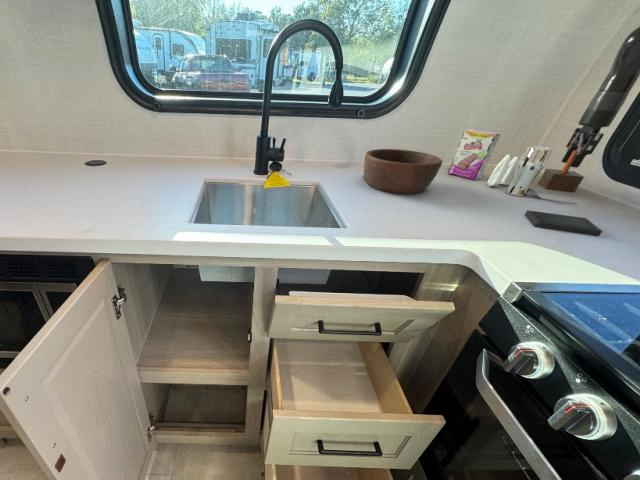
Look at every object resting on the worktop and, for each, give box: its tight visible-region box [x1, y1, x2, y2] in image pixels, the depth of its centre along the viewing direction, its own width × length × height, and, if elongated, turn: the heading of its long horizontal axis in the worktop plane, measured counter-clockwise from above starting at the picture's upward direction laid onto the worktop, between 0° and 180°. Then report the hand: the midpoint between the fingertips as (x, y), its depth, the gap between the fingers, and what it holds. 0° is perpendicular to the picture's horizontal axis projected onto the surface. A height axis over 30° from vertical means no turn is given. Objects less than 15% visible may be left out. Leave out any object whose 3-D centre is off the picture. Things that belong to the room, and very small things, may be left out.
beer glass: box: [505, 145, 554, 197], centre depth 107 cm, size 7×7×15 cm
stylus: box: [561, 150, 578, 173], centre depth 109 cm, size 2×2×14 cm
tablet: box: [524, 209, 603, 237], centre depth 88 cm, size 14×10×2 cm
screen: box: [534, 211, 594, 229], centre depth 88 cm, size 11×8×1 cm
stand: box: [537, 168, 585, 193], centre depth 111 cm, size 8×8×7 cm
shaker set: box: [487, 153, 519, 187], centre depth 116 cm, size 12×4×11 cm, turn 119°
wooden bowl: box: [363, 148, 443, 194], centre depth 113 cm, size 25×25×10 cm
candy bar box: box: [447, 129, 502, 181], centre depth 124 cm, size 11×5×16 cm, turn 34°
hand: (569, 164), depth 108 cm, fingers open, 7 cm apart
